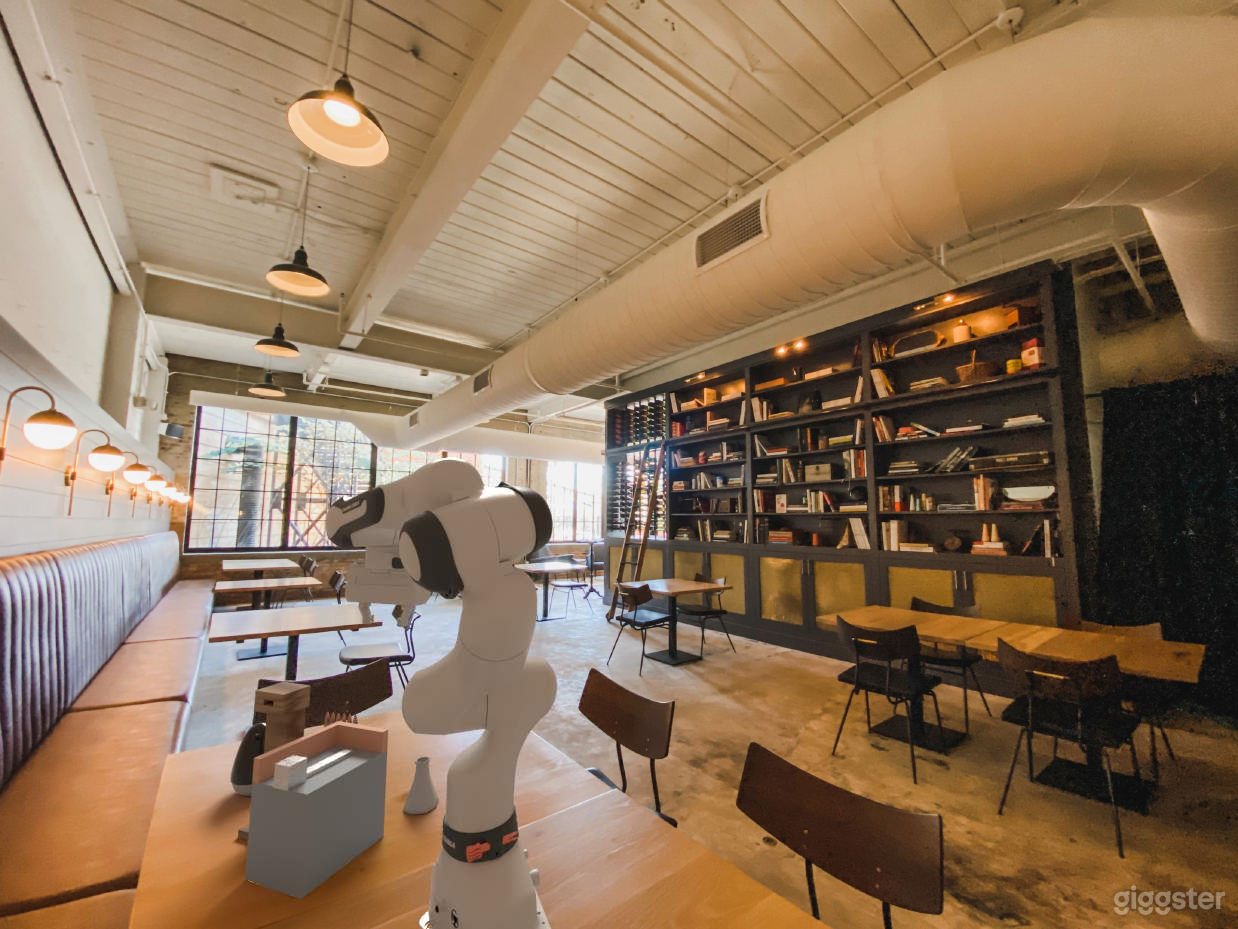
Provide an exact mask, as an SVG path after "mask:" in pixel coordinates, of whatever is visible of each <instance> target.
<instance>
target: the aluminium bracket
mask: <svg viewBox="0 0 1238 929" xmlns="http://www.w3.org/2000/svg"><path fill="white" fill-rule="evenodd" d="M353 752H354V750H350V749H344V750H342V751H340V752H338V753H336V754H334V755H332V756H330V757H328V758H326V759H324V760H322V761H320V762H319V763H317V764H315V765H313V766H311V767H309V768H307V759H308V758H306V757H301V756H296V755H292V756H290V757H288V758H286V759H284V760H282V761H280V762H277V763H275V772H274V787H273V788H277V789H281V790H286V791H289V790H291V789H293V788H294V787H296V786H298V785H300V784H302V783H304V782H306V779H307V778H309V777H311V776H313V775H315V774H317V773H319V772H321V771H322V770H324V769H326V768H328V767H330V766H332V765H334V764H336V763H338V762H340V761H342V760H343V759H345V758H347V757H349V756H351V755H353Z"/></svg>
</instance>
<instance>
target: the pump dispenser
mask: <svg viewBox="0 0 1238 929" xmlns="http://www.w3.org/2000/svg"><path fill="white" fill-rule="evenodd" d="M265 731H266V721H262V722H258V723H255V724H254V725H252V726H251V727H250V728H248V730H247V731H246V733H245V735H244V736H243V738H242V740H241V742H240V743H239V746H238V748H237V752H236V755H235V758H234V760H233V763H232V764H233V765H232V769H231V773H230V780H229V782H230V783H231V785H232V788H233V790H234V791H235V793H236V794H238V795H240V796H244V797H251V793H252V779H253V765H254V758H255V757H257V756H260V755H262V754H264V745H265Z"/></svg>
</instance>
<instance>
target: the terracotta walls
mask: <svg viewBox="0 0 1238 929" xmlns="http://www.w3.org/2000/svg"><path fill="white" fill-rule="evenodd" d="M388 742H389V729H388V728H382V727H381V728H380V727H375V726H369V725H364V724H353V722H352V723H347V721H346V722H341V721H338V722H336V721H335V723H333V724H331V725H329V726H326V727H324V726H323V727H322V728H320V729H318V730H315V731H313V732H310V733H308V734H306V735H304V736H303V737H301V738H299V739H296V740H294V741H292V742H290V743H287V744H285V745H283V746H280V747H278V748H276V749H273V750H271V751H269V752H267V753H264V754H262V755H260V756H257V757H255V758H254V765H253V779H252V781H253V782H257V783H259V782H261V781H263V780H265V779H267V778H269V777H271V776H273V775H274V772H275V763H277V762H280V761H282V760H284V759H286V758H288V757H290V756H292V755H296V756H301V757H306V758H310V757H312V756H315V755H317V754H319V753H321V752H323V751H325V750H327V749H329V748H331V747H333V746H335V745H342V746H347V747H352V748H357V749H363V750H368V751H373V752H378V753H383V752H385V751H386V750H387V751H388V746H389V744H388Z"/></svg>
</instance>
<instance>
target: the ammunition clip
mask: <svg viewBox="0 0 1238 929" xmlns="http://www.w3.org/2000/svg"><path fill="white" fill-rule="evenodd" d="M338 721H341V722H347V723H353V724H358V723H359V722H358V715H357V714H354V716H353V718H352V714H351V713H349V714H348V715H346V713H345V712H344V713H342V716H341V714H340V712H338V713H337V715H335V712H332V713H331V715H330V713H329V711H327V712H326V713H325V717H324V725H323V728H324V727H326V726H329V725H331V724H333V723H336V722H338Z"/></svg>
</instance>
